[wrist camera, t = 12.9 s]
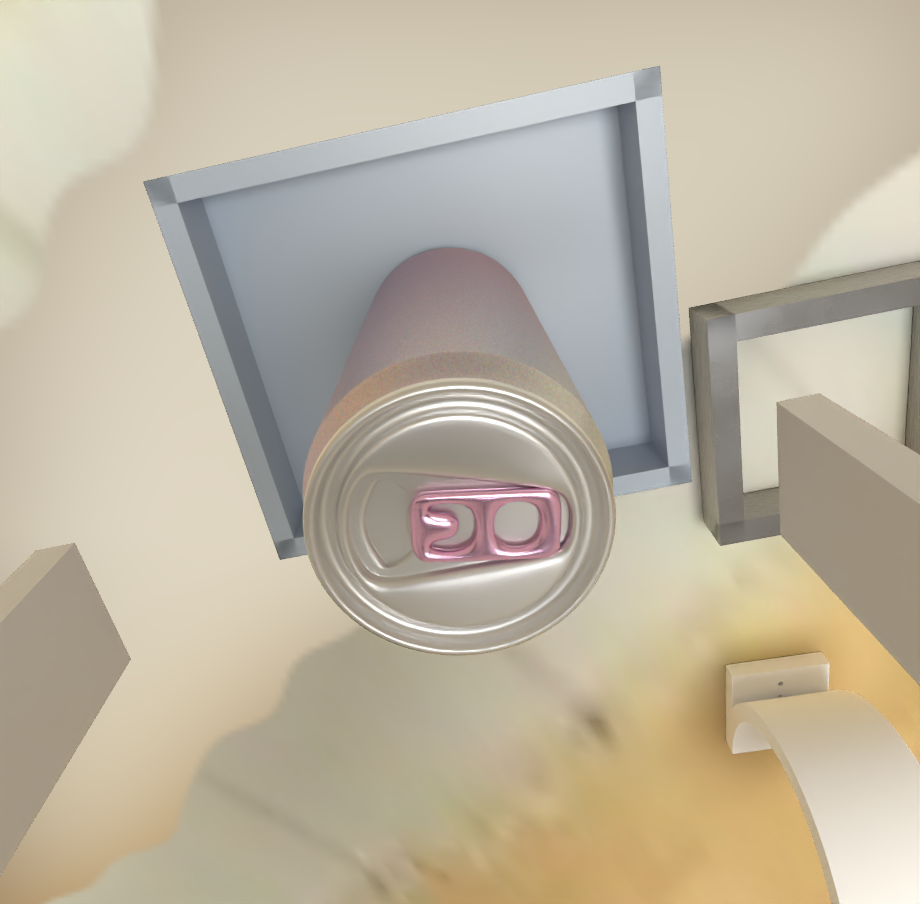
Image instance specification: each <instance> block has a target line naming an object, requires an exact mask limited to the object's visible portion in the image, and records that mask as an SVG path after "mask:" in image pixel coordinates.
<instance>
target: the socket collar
mask: <svg viewBox="0 0 920 904" xmlns="http://www.w3.org/2000/svg"><path fill="white" fill-rule="evenodd" d="M912 306H914V310H913V327H912V343H911V360H910V376H909V393H908V409H907V426H906V442H905V446H906V447H908V448H909V449H911V450H913V451H914V452H916V453H918V454H919V455H920V261H917V262H912V263H907V264H902V265H897V266H892V267H887V268H882V269H877V270H873V271H868V272H863V273H858V274H853V275H848V276H843V277H838V278H833V279H828V280H823V281H819V282H814V283H809V284H804V285H799V286H794V287H789V288H784V289H779V290H775V291H770V292H765V293H760V294H755V295H750V296H745V297H741V298H735V299H731V300H725V301H720V302H716V303H711V304H706V305H701V306H696V307H691V308H689V318H690V332H691V347H692V361H693V375H694V389H695V403H696V418H697V432H698V446H699V460H700V475H701V489H702V503H703V517H704V523H705V524H706V526H707V527H708V528H709V530H710V531H711V533H712V534H713V536H714V537H715V539H716V540H717V541H718V543H719V544H720V546H723V545H728V544H733V543H739V542H744V541H750V540H755V539H761V538H766V537H772V536H777V535H780V509H779V487H778V488H773V489H767V490H762V491H757V492H751V493H746V494H743V481H742V458H741V435H740V412H739V389H738V366H737V343H736V342H737V341H742V340H747V339H752V338H757V337H762V336H767V335H772V334H777V333H782V332H787V331H792V330H797V329H802V328H807V327H812V326H817V325H822V324H827V323H832V322H837V321H842V320H847V319H852V318H857V317H862V316H867V315H872V314H877V313H882V312H887V311H892V310H897V309H902V308H907V307H912Z"/></svg>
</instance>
